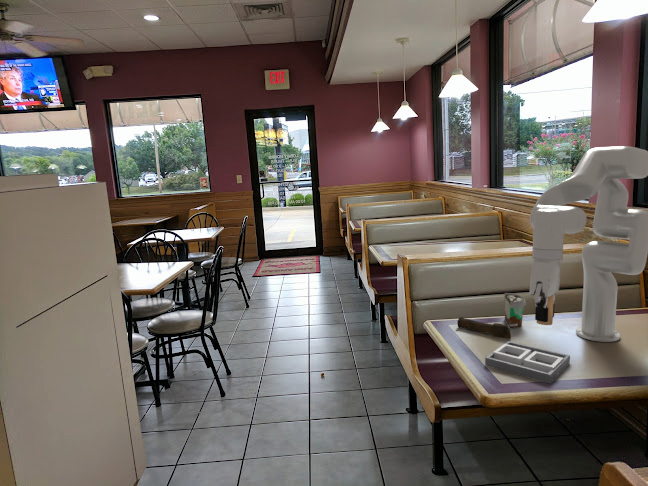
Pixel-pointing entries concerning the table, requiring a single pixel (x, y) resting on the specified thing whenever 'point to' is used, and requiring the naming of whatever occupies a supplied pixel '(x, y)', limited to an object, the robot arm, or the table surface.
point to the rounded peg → (550, 311)
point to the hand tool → (485, 327)
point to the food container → (514, 309)
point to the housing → (528, 361)
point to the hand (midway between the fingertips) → (544, 318)
